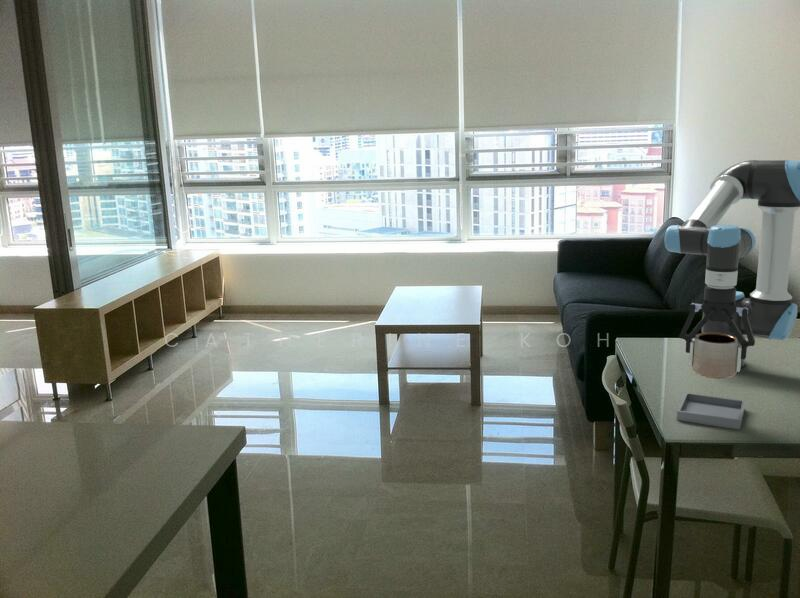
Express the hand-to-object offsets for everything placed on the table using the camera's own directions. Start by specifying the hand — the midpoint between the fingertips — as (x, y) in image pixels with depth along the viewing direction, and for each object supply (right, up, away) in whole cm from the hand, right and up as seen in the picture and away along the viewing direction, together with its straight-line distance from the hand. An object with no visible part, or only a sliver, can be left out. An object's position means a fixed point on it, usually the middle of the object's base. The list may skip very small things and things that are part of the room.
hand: (714, 367), depth 196 cm
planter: (0, -2, 0) cm, 2 cm away
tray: (0, -13, +3) cm, 13 cm away
